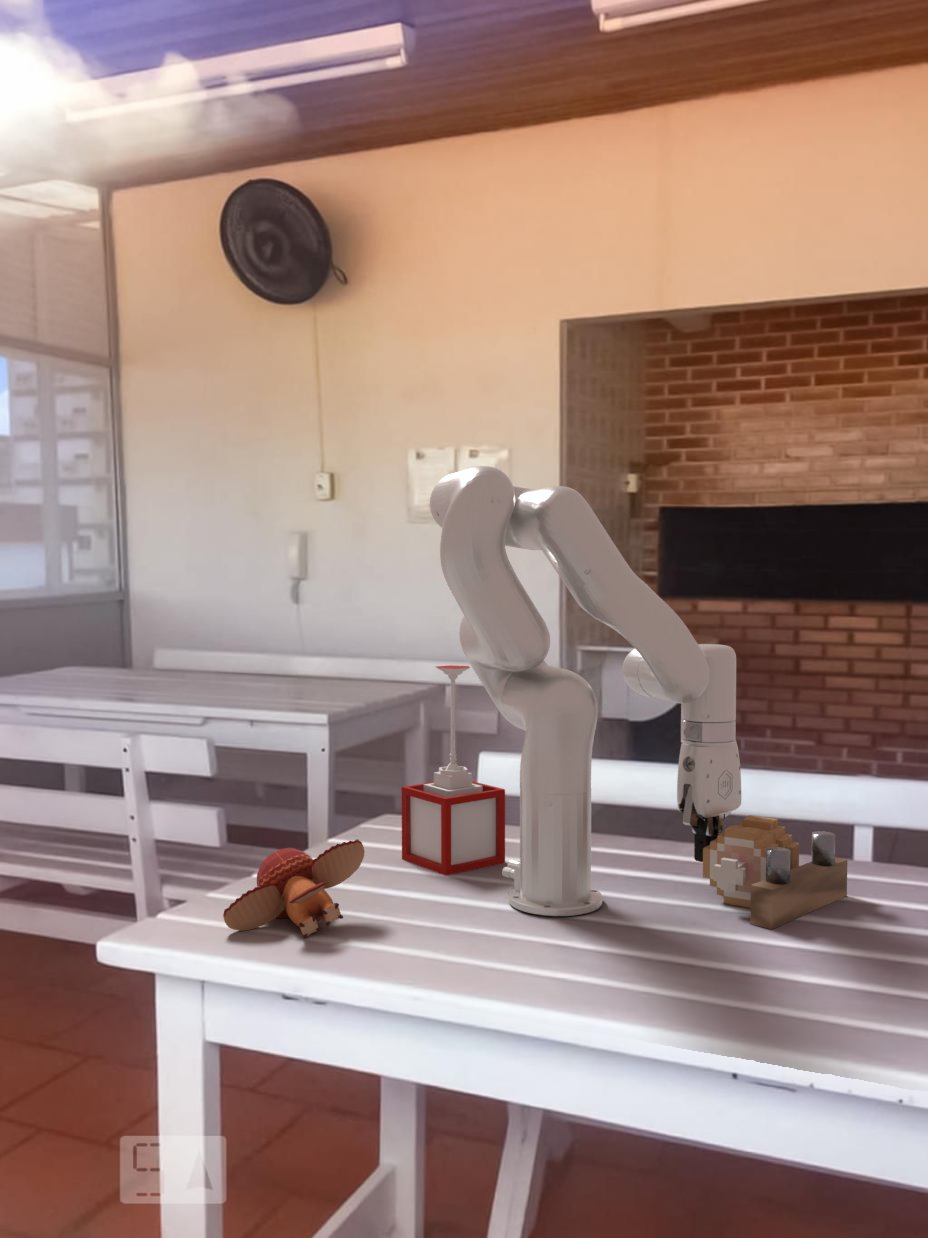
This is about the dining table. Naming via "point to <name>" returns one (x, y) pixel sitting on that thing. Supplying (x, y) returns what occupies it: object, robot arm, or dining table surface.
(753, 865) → the voxel meat on bone
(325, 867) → the figurine
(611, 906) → the dining table surface
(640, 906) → the dining table surface
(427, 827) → the pendant light
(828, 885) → the rail
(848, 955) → the dining table surface
